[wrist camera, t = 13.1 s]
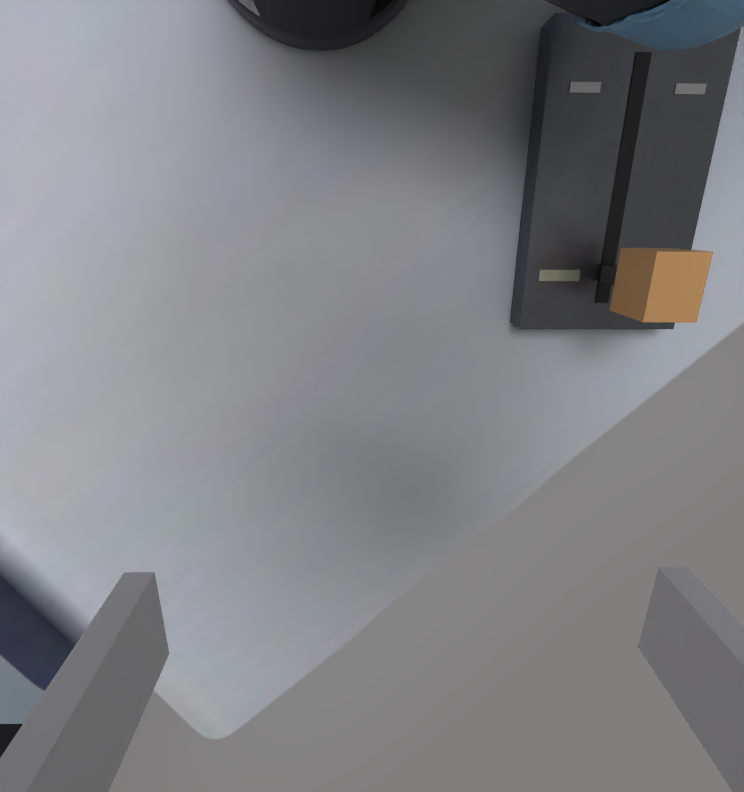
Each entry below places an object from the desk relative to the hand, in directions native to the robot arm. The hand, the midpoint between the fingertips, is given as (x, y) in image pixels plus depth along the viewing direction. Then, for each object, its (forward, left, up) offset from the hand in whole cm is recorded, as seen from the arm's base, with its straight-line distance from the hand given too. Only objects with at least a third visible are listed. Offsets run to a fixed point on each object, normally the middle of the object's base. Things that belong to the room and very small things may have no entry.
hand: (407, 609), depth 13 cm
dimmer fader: (-6, +17, -26) cm, 32 cm away
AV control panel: (-12, +17, -29) cm, 35 cm away
